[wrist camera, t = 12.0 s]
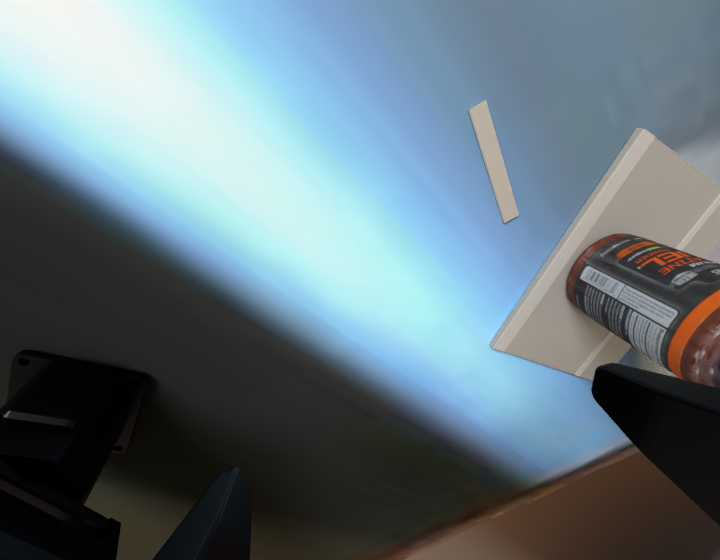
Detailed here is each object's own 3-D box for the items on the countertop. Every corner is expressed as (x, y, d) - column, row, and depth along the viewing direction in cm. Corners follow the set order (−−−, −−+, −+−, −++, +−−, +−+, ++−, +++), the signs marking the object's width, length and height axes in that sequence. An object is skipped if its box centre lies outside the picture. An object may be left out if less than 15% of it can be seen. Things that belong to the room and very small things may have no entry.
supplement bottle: (648, 220, 23) (935, 303, 13) (632, 297, 25) (858, 415, 15) (565, 242, 22) (795, 346, 12) (558, 318, 25) (741, 455, 15)
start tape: (503, 222, 21) (504, 223, 21) (467, 110, 18) (469, 109, 18) (518, 214, 21) (518, 215, 21) (484, 100, 18) (485, 100, 18)
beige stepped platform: (596, 380, 29) (601, 383, 29) (489, 344, 25) (492, 348, 25) (741, 207, 24) (750, 208, 24) (636, 128, 20) (644, 128, 20)
